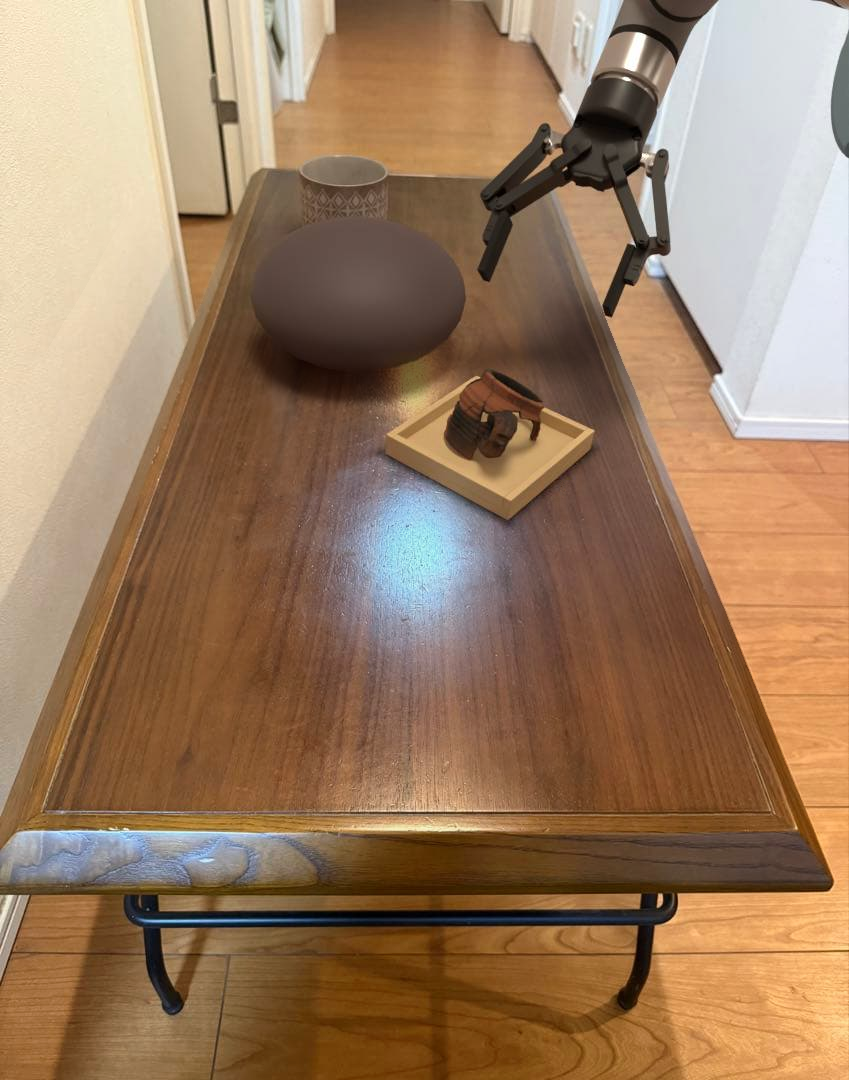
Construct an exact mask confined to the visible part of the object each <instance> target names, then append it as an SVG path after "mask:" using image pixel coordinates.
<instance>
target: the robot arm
mask: <svg viewBox="0 0 849 1080" xmlns="http://www.w3.org/2000/svg"><path fill="white" fill-rule="evenodd" d="M719 1H720V0H622V3H621V5H620V8H619V10H618V14H617V16H616V19H615V21H614V23H613V26H612V28H611V31H610V34H609V36H608V37H607V40H606V43H605V45H604V46H603V50H602V52H601V54H600V56H599V59H598V61H597V64H596V66H595V67H594V70H593V73H592V75H591V78H590V84H589V85H588V87H587V88H586V90H585V92H584V96H583V98H582V100H581V103H580V105H579V107H578V111H577V112H576V115H575V118H574V120H573V124H572V125H571V127H570V129H569V130H568V131H567V132H566V133H565V134H564V133H561V132H558V131H555V130H552V128H551V125H550V124H549V123H547V122H544V123H542V124H540V125H539V127H538V128H537V130H536V132H535V134H534V136H533V138H532V139H531V142H529V143H528V144H527V145H526V146H525V147H524V148H523V149H522V150H521V151H520V152H519V153H518V154H517V155H516V156H515V157H514V158H513V159H512V160H511V161H510V162H509V163H508V164H507V165H506V166H505V167H504V168H503V169H502V170H501V171H500V172H499V173H498V174H497V175H496V176H495V177H494V178H493V179H492V180H491V181H490V182H489V183H488V184H487V185H486V186H485V187H484V188H483V189H482V190H481V191H480V192H479V193H480V194H479V196H480V197H479V198H480V199H481V201H482V203H483V205H484V207H485V210H487V211H489V212H491V213H490V215H489V218H488V220H487V223H486V226H485V228H484V231H483V233H482V241H483V243H484V245H485V249H484V252H483V254H482V257H481V259H480V262H479V264H478V267H477V269H476V270H477V272H478V275H480V277H481V280H482V281H483V282H487V283H490V282H491V281H492V278H493V275H494V273H495V271H496V268H497V265H498V263H499V261H500V258H501V256H502V253H503V251H504V248H505V246H506V243H507V241H508V238H509V236H510V234H511V231H512V229H513V226H514V224H513V221H512V219H511V217H514V216H515V215H516V214H518V213H519V212H521V211H522V210H524V209H526V208H527V207H530V206H531V205H532V204H533V203H535V202H537V201H538V200H540V199H541V198H543V197H545V196H547V195H548V194H549V193H551V192H553V191H554V190H556V189H557V188H563V187H565V186H567V185H568V184H569V183H571V182H573V183H574V184H575V186H576V187H581V188H591V189H593V190H595V191H597V192H602V193H605V192H606V191H608V190H610V189H611V190H612V189H613V191H614V194H615V197H616V199H617V201H618V203H619V206H620V208H621V211H622V214H623V217H624V219H625V223H626V225H627V227H628V230H629V233H630V235H631V238H632V241H633V243H634V244H631V243H626V246H625V248H624V251H623V253H622V256H621V258H620V261H619V263H618V266H617V268H616V271H615V273H614V276H613V278H612V280H611V283H610V285H609V288H608V290H607V292H606V294H605V298H604V300H603V302H602V304H601V307H602V309H603V314H604V316H605V317H608V318H613V316H614V314H615V311H616V309H617V307H618V304H619V301H620V300H621V296H622V294H623V292H624V289H625V287H626V285H628V286H630V287H635V286H636V285H637V283H638V281H639V280H640V277H641V275H642V272H643V269H644V267H645V265H646V262H647V260H648V259H649V258H650V257H651V256H655V255H660V256H661V257H666V256H669V254H670V253H671V249H672V248H671V247H672V246H671V234H670V233H671V232H670V222H669V221H670V220H669V212H668V202H667V190H666V181H667V176H668V174H669V169H670V158H669V157H670V154H669V151H668V150H667V149H665V148H660V149H658V150H657V151H656V152H655V153H653V152H644V151H643V150H644V147H645V145H646V142H647V140H648V138H649V135H650V133H651V130H652V127H653V125H654V123H655V120H656V118H657V115H658V109H659V108H660V106H661V105H662V103H663V100H664V97H665V95H666V93H667V90H668V88H669V86H670V83H671V81H672V79H673V76H674V74H675V71H676V68H677V66H678V63H679V61H680V57H681V56H682V53H683V51H684V49H685V47H686V44H687V42H688V39H689V37H690V35H691V33H692V31H693V30H694V28H695V26H696V25H697V24H698V23H699V22H700V20H701V19H703V17H704V16H705V15H707V14H708V13H709V12H710V11H711V9H712V8H713V7H714V6H716V4H717V3H718V2H719ZM812 1H814V2H821V3H826V4H829V5H831V6H834V7H836V8H840V9H843V10H847V11H849V0H812ZM830 123H831V129H832V134H833V138H834V141H835V144H836V145H837V148H838V150H839V151H840V152H841V153H842V154H843V156H845V157H846V158H848V159H849V29H848V30H847V34H846V36H845V39H844V42H843V45H842V46H841V49H840V51H839V55H838V59H837V63H836V67H835V72H834V76H833V82H832V88H831V96H830ZM558 149H561V151H562V153H561V154H560V155H558V156H556V157H554V159H552V160H551V161H550V162H549V164H548V165H547V166H546V167H544V168H542V170H540V171H537V172H536V173H535V174H534V175H532V176H530V175H531V174H532V173H534V171H535V170H536V169H537V168H538V167H539V166H540V165H541V164H542V163H543V162H544V161H545V159H546V158H547V156H552V155H553V154H554V152H555V151H556V150H558ZM641 167H642V168H644V170H645V172H644V173H645V176H646V177H647V178H649V179H650V180H651V190H652V191H651V193H652V201H653V212H654V223H655V234H656V235H655V236H650V234H648V231H647V229H646V226H645V223H644V221H643V218H642V216H641V213H640V211H639V207H638V205H637V202H636V200H635V197H634V194H633V192H632V189H631V186H630V185H629V180H628V177H629V176H631V175H632V174H634V173H635V172H637V171H638V170H639V169H640V168H641ZM528 177H529V178H528ZM527 178H528V179H527Z"/></svg>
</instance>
